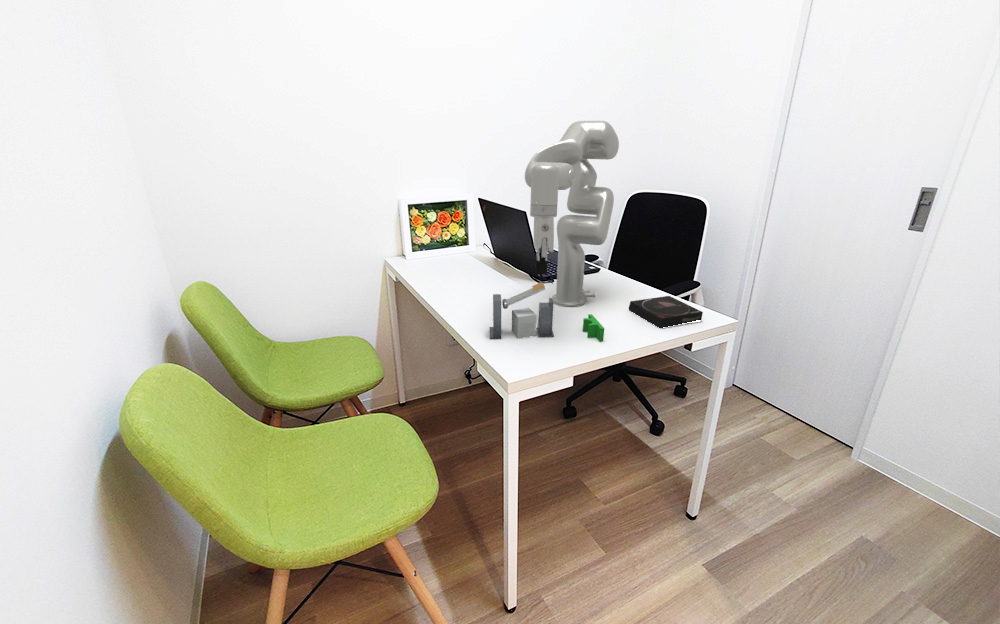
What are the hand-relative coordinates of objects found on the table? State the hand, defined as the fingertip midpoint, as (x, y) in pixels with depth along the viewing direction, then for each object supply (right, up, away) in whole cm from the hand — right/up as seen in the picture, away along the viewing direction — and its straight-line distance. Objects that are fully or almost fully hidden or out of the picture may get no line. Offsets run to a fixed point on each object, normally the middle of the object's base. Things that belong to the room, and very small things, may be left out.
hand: (541, 273), depth 131 cm
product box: (-5, -18, +7) cm, 20 cm away
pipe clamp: (+16, -19, +7) cm, 26 cm away
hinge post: (-13, -18, +7) cm, 23 cm away
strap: (-5, -7, +3) cm, 9 cm away
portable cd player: (+44, -13, +21) cm, 50 cm away
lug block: (+2, -18, +7) cm, 20 cm away
